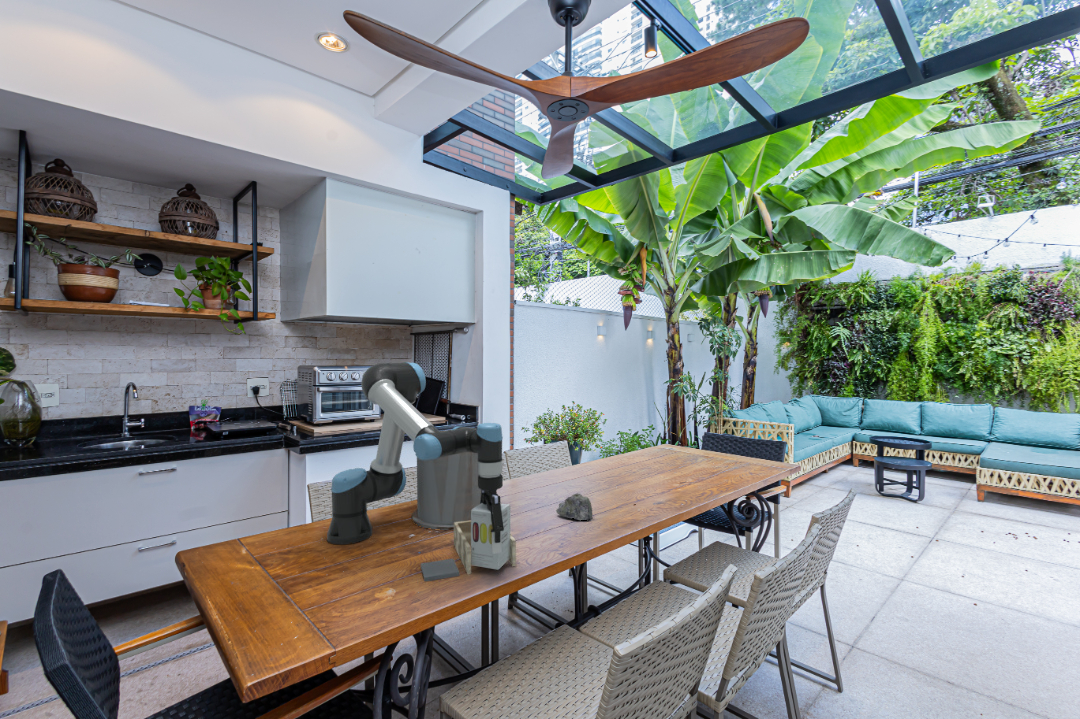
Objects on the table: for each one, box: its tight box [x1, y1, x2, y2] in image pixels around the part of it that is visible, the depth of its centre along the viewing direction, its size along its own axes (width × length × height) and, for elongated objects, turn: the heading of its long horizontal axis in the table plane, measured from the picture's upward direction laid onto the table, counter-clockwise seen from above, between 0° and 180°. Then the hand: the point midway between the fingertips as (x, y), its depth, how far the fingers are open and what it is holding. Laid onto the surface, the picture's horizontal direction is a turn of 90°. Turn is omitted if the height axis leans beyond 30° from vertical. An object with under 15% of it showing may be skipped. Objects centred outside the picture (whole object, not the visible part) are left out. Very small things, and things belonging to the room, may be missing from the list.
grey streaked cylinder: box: [411, 429, 481, 530], centre depth 196 cm, size 35×35×32 cm
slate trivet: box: [420, 558, 460, 583], centre depth 146 cm, size 10×10×1 cm
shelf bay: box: [453, 520, 517, 575], centre depth 157 cm, size 23×15×8 cm, turn 20°
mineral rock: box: [555, 493, 593, 521], centre depth 192 cm, size 13×11×10 cm
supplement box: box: [470, 503, 511, 571], centre depth 148 cm, size 10×9×17 cm
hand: (491, 544), depth 148 cm, fingers closed on supplement box, 13 cm apart
